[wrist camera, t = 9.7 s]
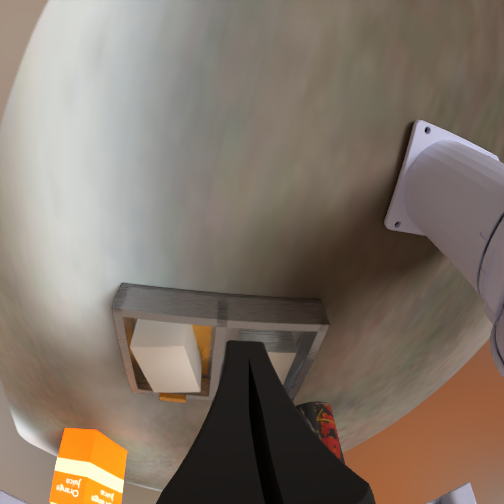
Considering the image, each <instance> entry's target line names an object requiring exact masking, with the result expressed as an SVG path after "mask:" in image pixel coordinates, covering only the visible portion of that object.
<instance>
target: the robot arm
mask: <svg viewBox="0 0 504 504" xmlns="http://www.w3.org/2000/svg"><path fill="white" fill-rule="evenodd" d="M426 127H427V132H426V133H425V128H426ZM396 222H398V224H397V225H395V223H396ZM384 225H385V226H386V228H387V229H389V230H395V231H401V232H406V233H412V234H418V235H424V236H426V237H427V238H428V239H429V240H430V241H431V242H432V243H433V244H434V245H435V246H436V247H437V248H438V249H439V250H440V251H441V252H442V253H443V254H444V255H445V256H446V257H447V258H448V259H449V261H450V262H451V263H452V264H453V265H454V266H455V267H456V268H457V269H458V270H459V272H460V273H461V274H462V275H463V276H464V277H465V278H466V280H467V281H468V282H469V283H470V284H471V285H472V286H473V288H474V289H475V290H476V291H477V292H478V294H479V295H480V296H481V297H482V298H483V300H484V302H485V308H484V313H485V314H486V316H487V317H488V318H489V320H490V321H491V322H492V324H493V328H492V331H491V336H490V349H491V354H492V358H493V361H494V363H495V366H496V367H497V369H498V371H499V372H500V374H501V375H502V376H503V377H504V164H503V163H501V162H499V158H498V157H497V156H495V155H494V154H492V153H490V152H488V151H486V150H484V149H483V148H481V147H479V146H477V145H475V144H473V143H471V142H469V141H467V140H465V139H463V138H461V137H459V136H457V135H454V134H452V133H450V132H448V131H446V130H443V129H441V128H439V127H437V126H434V125H432V124H430V123H427V122H425V121H422V120H416V121H415V122H414V125H413V128H412V132H411V136H410V140H409V144H408V147H407V151H406V154H405V158H404V161H403V165H402V168H401V172H400V175H399V178H398V181H397V184H396V188H395V191H394V194H393V197H392V200H391V203H390V206H389V209H388V212H387V215H386V217H385V220H384ZM0 504H29V503H27V502H25V501H23V500H21V499H18V498H17V497H14V496H12V495H10V494H8V493H6V492H5V491H3V490H0ZM156 504H376V503H375V500H374V495H373V493H372V490H371V488H370V486H369V483H367V482H366V481H365V480H364V479H362V478H361V477H359V476H358V475H357V474H356V473H354V472H353V471H352V470H351V469H350V468H348V467H347V466H346V465H345V464H344V463H343V462H342V461H341V460H340V459H339V458H338V457H337V456H336V455H335V454H334V453H333V452H332V451H331V450H330V449H329V448H328V447H327V446H326V445H325V444H324V443H323V442H322V441H321V440H320V438H319V437H318V436H317V435H316V434H315V432H314V431H313V430H312V429H311V428H310V426H309V425H308V424H307V422H306V421H305V420H304V418H303V417H302V415H301V414H300V413H299V411H298V410H297V408H296V406H295V405H294V403H293V402H292V400H291V399H290V397H289V395H288V394H287V392H286V390H285V388H284V386H283V385H282V383H281V381H280V379H279V377H278V375H277V373H276V371H275V369H274V367H273V365H272V363H271V360H270V358H269V356H268V353H267V351H266V348H265V345H264V343H263V342H256V341H238V340H229V341H227V342H226V348H225V355H224V361H223V368H222V375H221V379H220V382H219V386H218V389H217V392H216V394H215V397H214V400H213V402H212V405H211V407H210V410H209V412H208V415H207V417H206V419H205V421H204V423H203V425H202V428H201V430H200V432H199V434H198V435H197V437H196V439H195V441H194V443H193V445H192V447H191V449H190V450H189V452H188V454H187V455H186V457H185V459H184V460H183V462H182V463H181V465H180V467H179V468H178V470H177V471H176V473H175V474H174V476H173V477H172V479H171V480H170V481H169V483H168V484H167V486H166V487H165V488H164V490H163V491H162V493H161V495H160V497H159V499H158V501H157V503H156ZM426 504H477V503H476V500H475V497H474V494H473V491H472V488H471V485H470V483H469V482H467V483H466V484H464V485H462V486H460V487H458V488H456V489H454V490H452V491H450V492H448V493H447V494H445V495H443V496H441V497H439V498H437V499H435V500H433V501H431V502H428V503H426Z"/></svg>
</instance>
